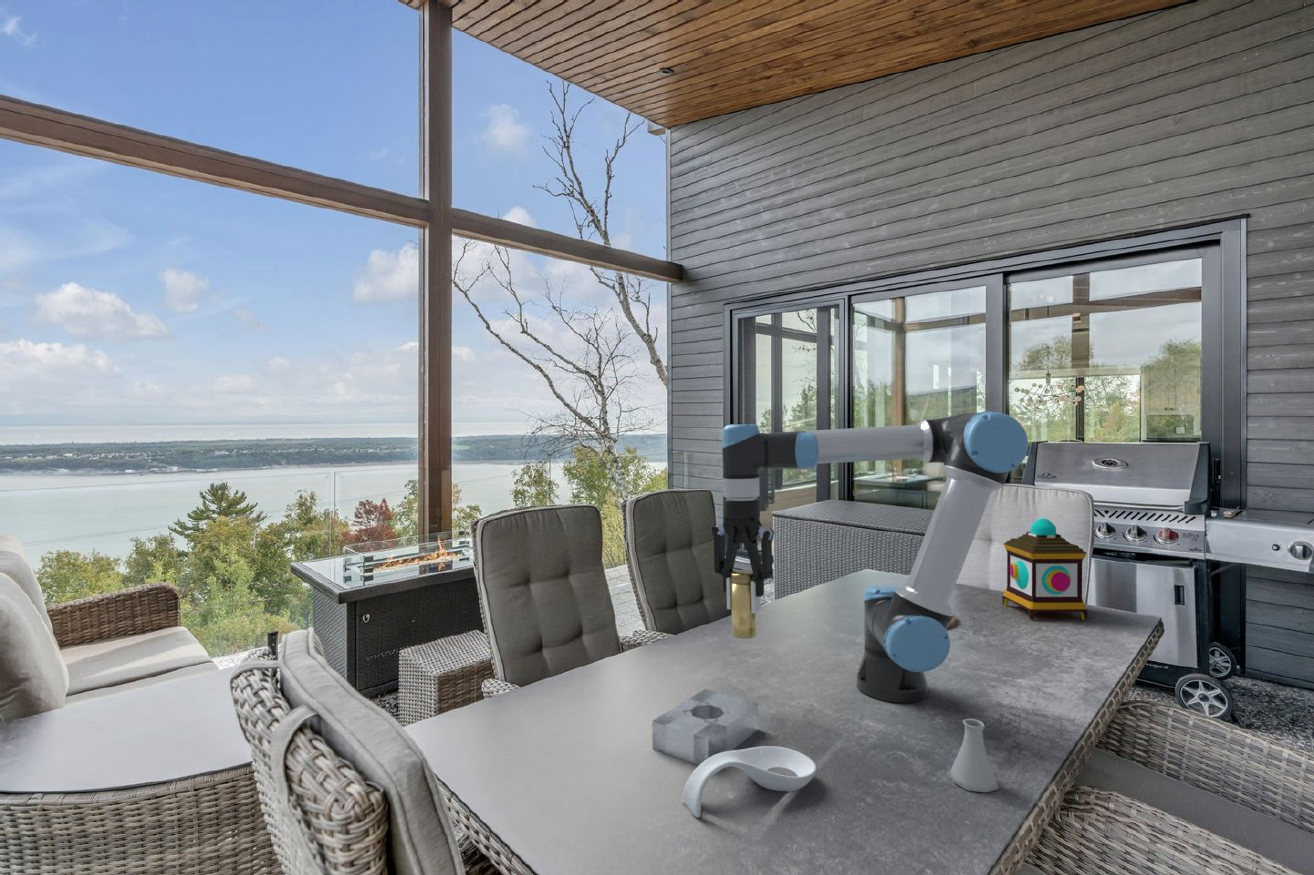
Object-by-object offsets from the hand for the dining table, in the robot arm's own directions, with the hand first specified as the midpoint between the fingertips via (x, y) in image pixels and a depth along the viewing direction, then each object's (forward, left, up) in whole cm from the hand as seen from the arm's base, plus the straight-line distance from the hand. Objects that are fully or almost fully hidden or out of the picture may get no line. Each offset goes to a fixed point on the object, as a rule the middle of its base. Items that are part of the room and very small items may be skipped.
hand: (743, 609), depth 137 cm
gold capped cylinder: (0, 0, -5) cm, 5 cm away
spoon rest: (-16, +26, -22) cm, 38 cm away
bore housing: (-1, +17, -21) cm, 27 cm away
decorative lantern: (-41, -118, -22) cm, 127 cm away
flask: (-44, +2, -22) cm, 49 cm away
